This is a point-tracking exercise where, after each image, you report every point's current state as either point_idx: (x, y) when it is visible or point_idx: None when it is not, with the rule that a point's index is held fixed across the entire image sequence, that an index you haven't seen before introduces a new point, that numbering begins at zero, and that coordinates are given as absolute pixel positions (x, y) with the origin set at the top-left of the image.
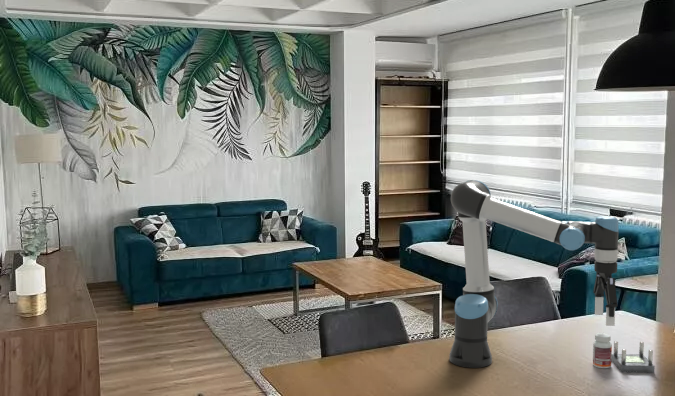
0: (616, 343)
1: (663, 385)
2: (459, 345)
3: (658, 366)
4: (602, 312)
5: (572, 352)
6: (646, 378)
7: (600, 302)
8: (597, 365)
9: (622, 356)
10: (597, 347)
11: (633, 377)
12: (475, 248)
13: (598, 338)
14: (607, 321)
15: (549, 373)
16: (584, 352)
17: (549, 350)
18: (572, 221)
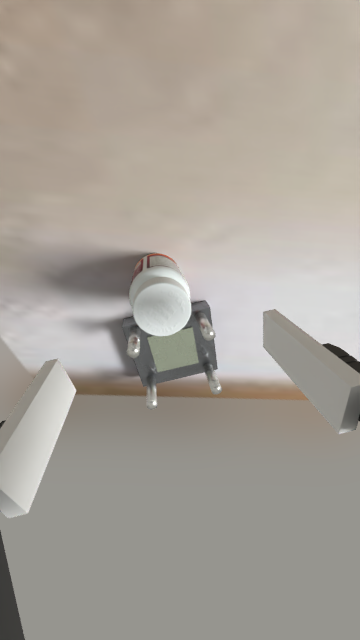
0: (202, 334)
1: None
2: None
3: (187, 382)
4: (270, 352)
5: (261, 197)
6: (101, 362)
7: (311, 384)
8: (136, 265)
9: (129, 339)
10: (134, 278)
11: (96, 339)
12: None
13: (138, 291)
14: (35, 382)
15: (4, 74)
16: (263, 235)
17: (278, 104)
18: None
